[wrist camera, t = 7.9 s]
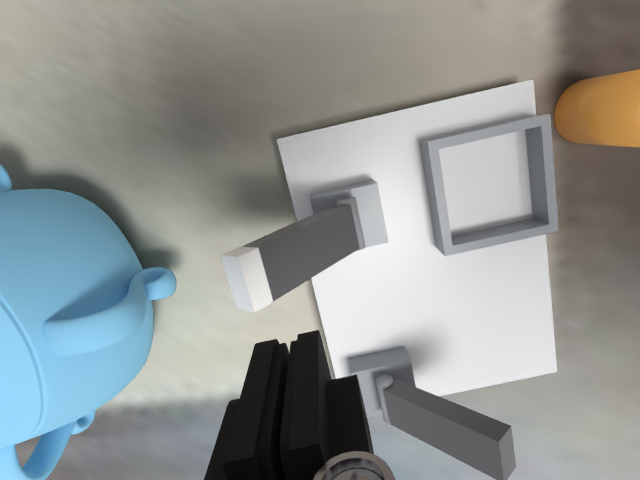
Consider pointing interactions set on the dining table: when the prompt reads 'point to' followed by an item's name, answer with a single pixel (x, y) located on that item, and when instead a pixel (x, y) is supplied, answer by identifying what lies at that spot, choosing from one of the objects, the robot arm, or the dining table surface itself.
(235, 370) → the dining table surface
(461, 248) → the panel
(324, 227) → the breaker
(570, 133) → the cap
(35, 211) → the decorative pot
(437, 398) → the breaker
